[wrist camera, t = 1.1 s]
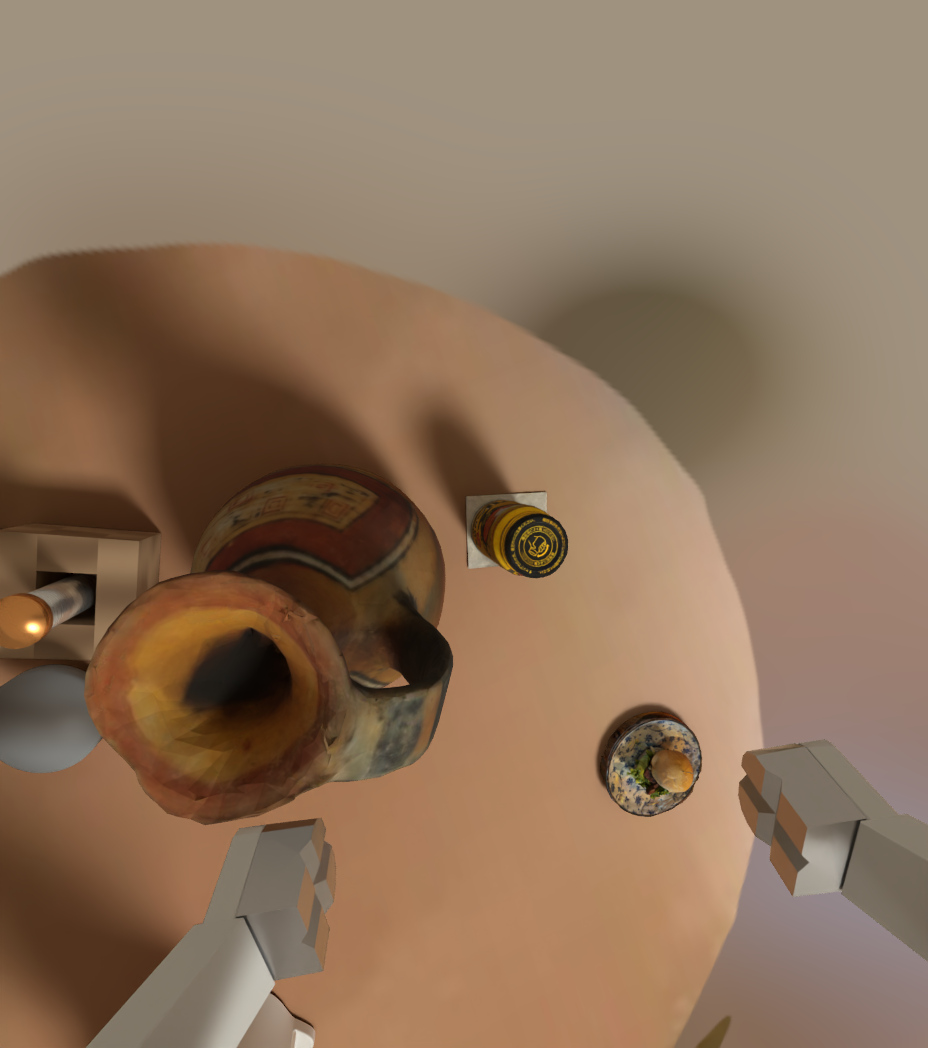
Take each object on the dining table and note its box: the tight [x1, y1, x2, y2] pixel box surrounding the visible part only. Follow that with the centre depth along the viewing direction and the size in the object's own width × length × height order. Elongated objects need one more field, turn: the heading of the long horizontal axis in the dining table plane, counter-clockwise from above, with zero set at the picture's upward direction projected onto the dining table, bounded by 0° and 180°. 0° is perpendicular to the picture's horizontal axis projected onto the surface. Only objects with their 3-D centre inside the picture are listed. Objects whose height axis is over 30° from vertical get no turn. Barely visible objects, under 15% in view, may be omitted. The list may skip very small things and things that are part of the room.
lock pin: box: [0, 573, 97, 649], centre depth 41 cm, size 4×4×12 cm
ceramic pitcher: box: [84, 464, 453, 825], centre depth 36 cm, size 20×20×30 cm
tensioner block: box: [0, 523, 161, 773], centre depth 43 cm, size 18×10×8 cm, turn 174°
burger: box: [600, 712, 702, 817], centre depth 57 cm, size 12×12×8 cm
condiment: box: [466, 492, 568, 578], centre depth 48 cm, size 7×8×12 cm
